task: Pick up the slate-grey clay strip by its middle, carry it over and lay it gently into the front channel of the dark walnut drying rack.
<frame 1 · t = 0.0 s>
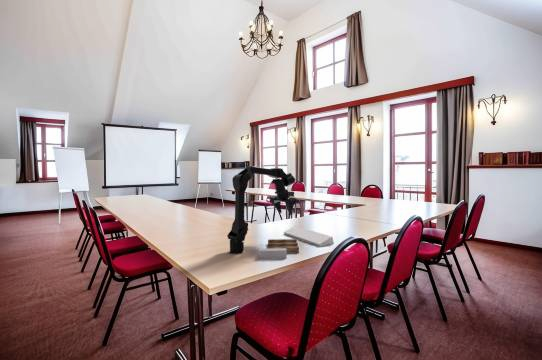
hand: (285, 213, 161), 15 cm above the table, tool pointing down, fingers open, 9 cm apart
drying rack: (282, 248, 145), on the table
decorative molding: (306, 240, 164), on the table
clay strip: (273, 257, 131), on the table
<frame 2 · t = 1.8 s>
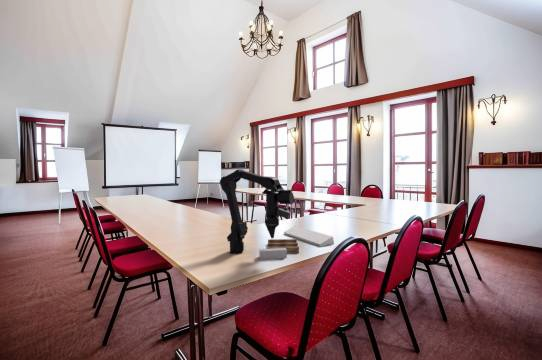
hand: (272, 235, 131), 10 cm above the table, tool pointing down, fingers open, 9 cm apart
nothing on the table moved.
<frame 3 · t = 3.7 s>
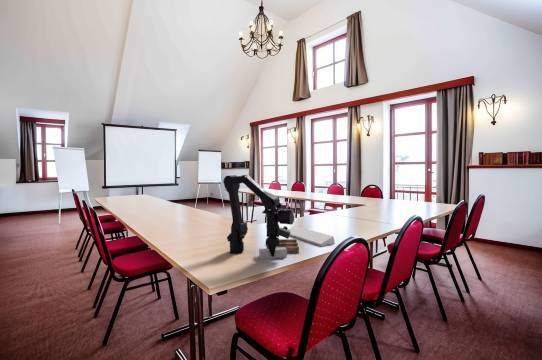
hand: (273, 254, 131), 1 cm above the table, tool pointing down, fingers closed on clay strip, 4 cm apart
clay strip: (273, 257, 131), on the table, touching gripper
everything else where it was.
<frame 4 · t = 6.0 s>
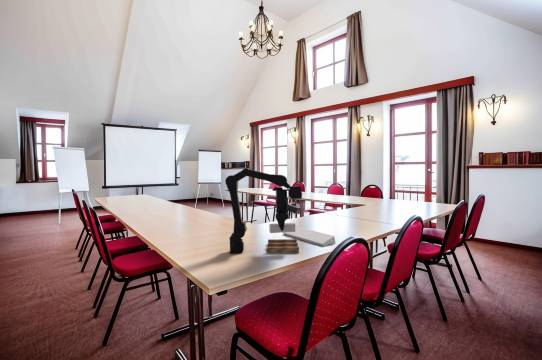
hand: (282, 229, 140), 11 cm above the table, tool pointing down, fingers closed on clay strip, 4 cm apart
clay strip: (282, 231, 140), point 10 cm above the table, touching gripper
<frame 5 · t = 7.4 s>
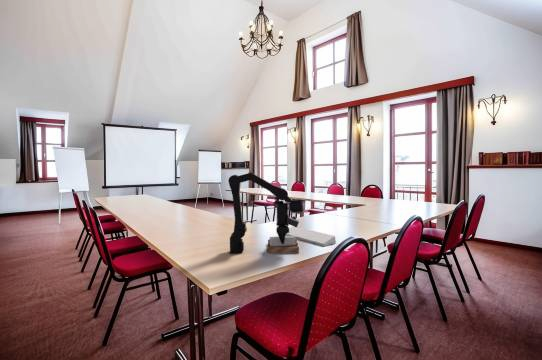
hand: (282, 242, 141), 4 cm above the table, tool pointing down, fingers closed on clay strip, 4 cm apart
clay strip: (282, 244, 141), point 3 cm above the table, touching gripper
when the fingers open (4 cm above the table, at t = 8.0 s): clay strip drops 2 cm, resting on drying rack.
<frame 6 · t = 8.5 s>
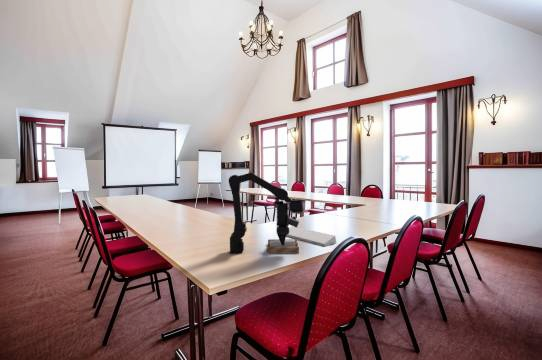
hand: (282, 242, 141), 4 cm above the table, tool pointing down, fingers open, 9 cm apart
clay strip: (282, 248, 141), point 1 cm above the table, touching drying rack
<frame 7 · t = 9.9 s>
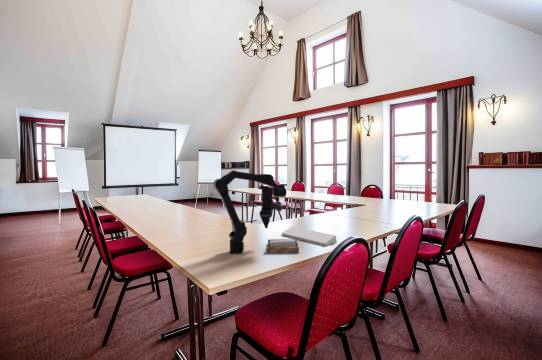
hand: (267, 226, 146), 12 cm above the table, tool pointing down, fingers open, 9 cm apart
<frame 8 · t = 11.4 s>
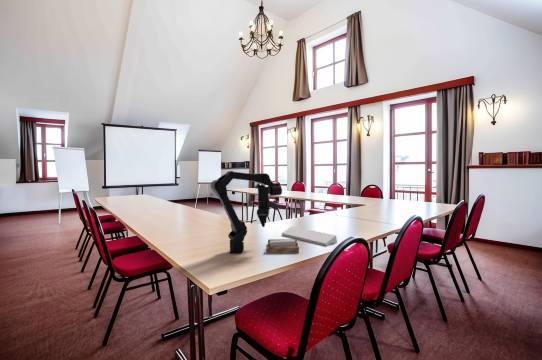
hand: (263, 225, 148), 12 cm above the table, tool pointing down, fingers open, 9 cm apart
at the end: clay strip 0.1 cm from the target spot on the drying rack, point 1.0 cm above the drying rack's base; clay strip tilted 0°; the gripper is holding nothing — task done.
